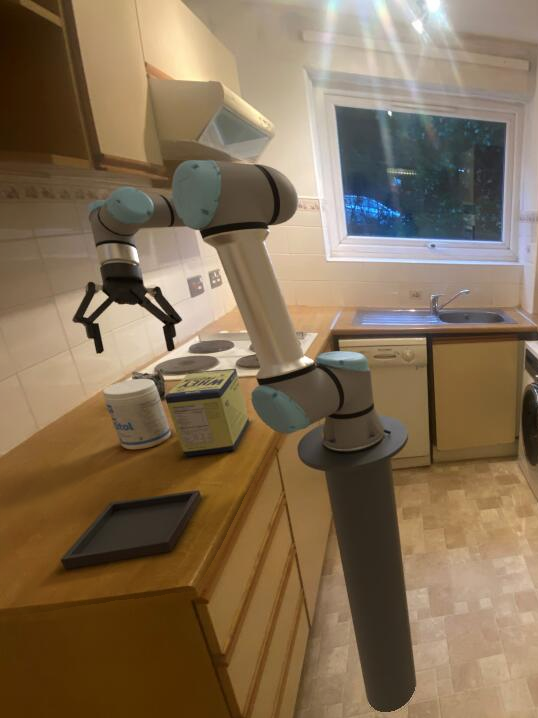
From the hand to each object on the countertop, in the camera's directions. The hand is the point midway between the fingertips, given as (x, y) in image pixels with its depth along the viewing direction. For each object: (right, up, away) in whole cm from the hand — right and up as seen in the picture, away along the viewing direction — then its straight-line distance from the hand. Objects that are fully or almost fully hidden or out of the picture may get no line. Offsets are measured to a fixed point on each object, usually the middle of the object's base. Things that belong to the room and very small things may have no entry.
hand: (137, 351), depth 105 cm
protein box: (+18, -22, +2) cm, 29 cm away
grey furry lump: (-19, -11, +26) cm, 34 cm away
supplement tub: (+2, -22, +1) cm, 22 cm away
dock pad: (+24, -34, -28) cm, 50 cm away
